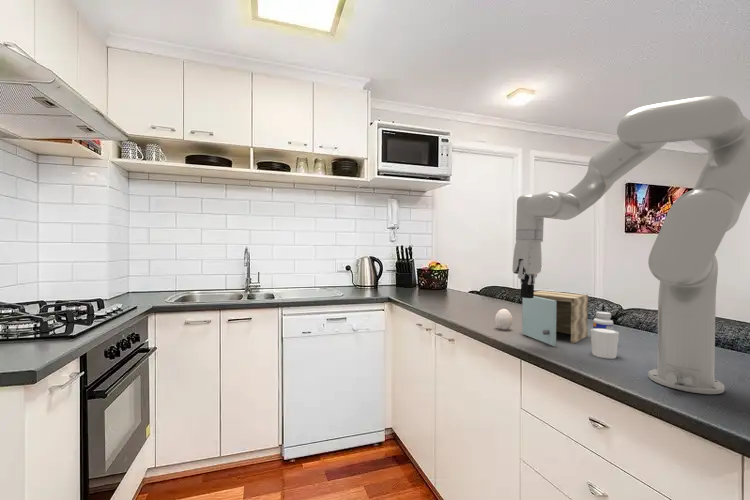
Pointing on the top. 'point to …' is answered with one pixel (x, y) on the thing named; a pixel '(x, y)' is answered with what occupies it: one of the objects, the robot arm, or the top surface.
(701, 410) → the top surface
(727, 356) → the top surface
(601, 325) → the pill bottle
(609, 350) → the white cup
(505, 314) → the egg
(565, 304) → the cabinet
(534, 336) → the door
